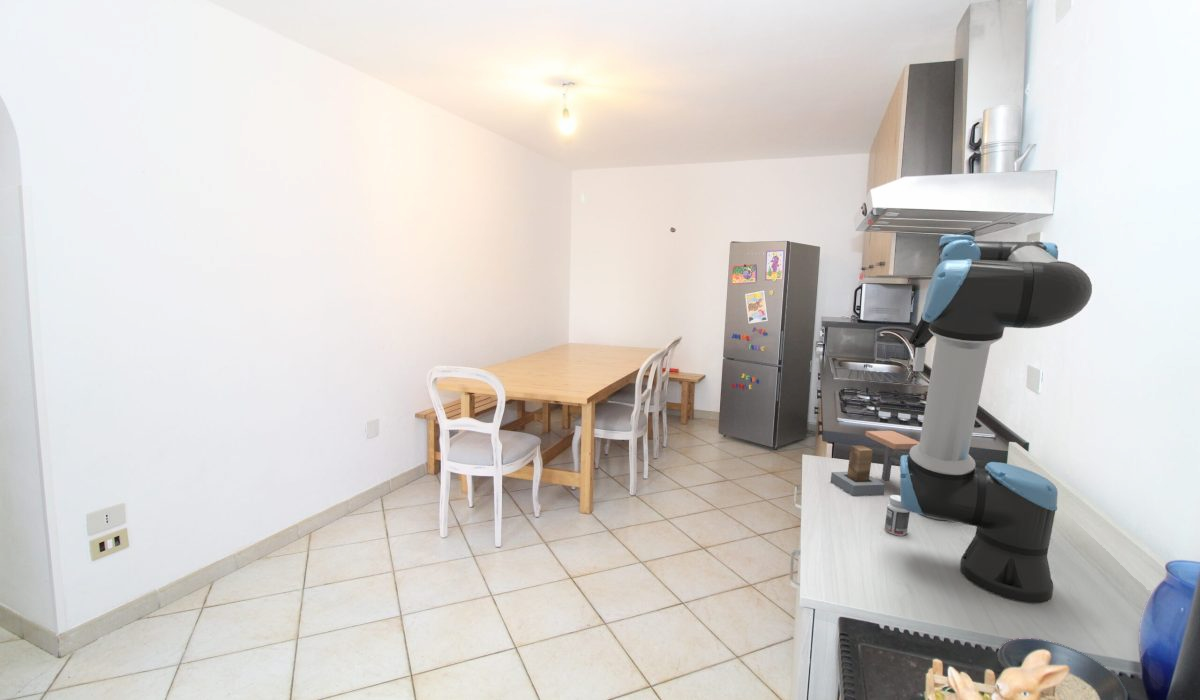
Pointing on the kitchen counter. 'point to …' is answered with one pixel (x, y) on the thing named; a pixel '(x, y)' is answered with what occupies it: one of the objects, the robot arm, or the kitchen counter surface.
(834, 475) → the socket block
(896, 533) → the pill bottle
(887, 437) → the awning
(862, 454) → the peg
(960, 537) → the kitchen counter surface
